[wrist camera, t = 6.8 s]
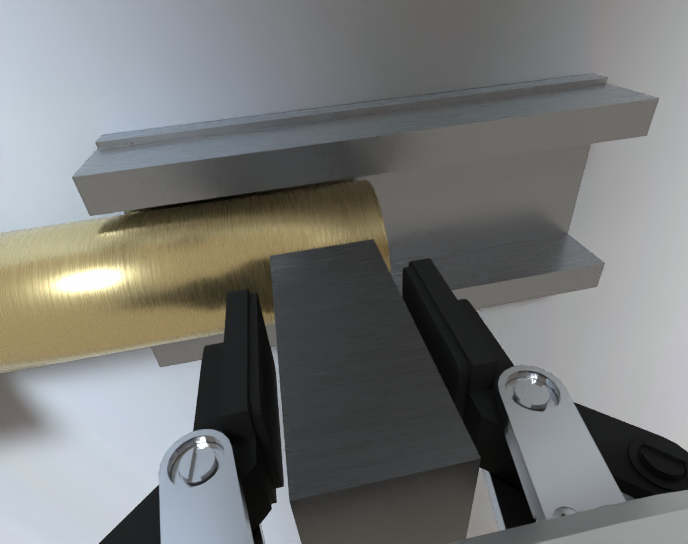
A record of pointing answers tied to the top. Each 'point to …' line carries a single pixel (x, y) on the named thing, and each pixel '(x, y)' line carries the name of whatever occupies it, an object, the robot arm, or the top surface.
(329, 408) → the bolt
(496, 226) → the channel
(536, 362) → the top surface
